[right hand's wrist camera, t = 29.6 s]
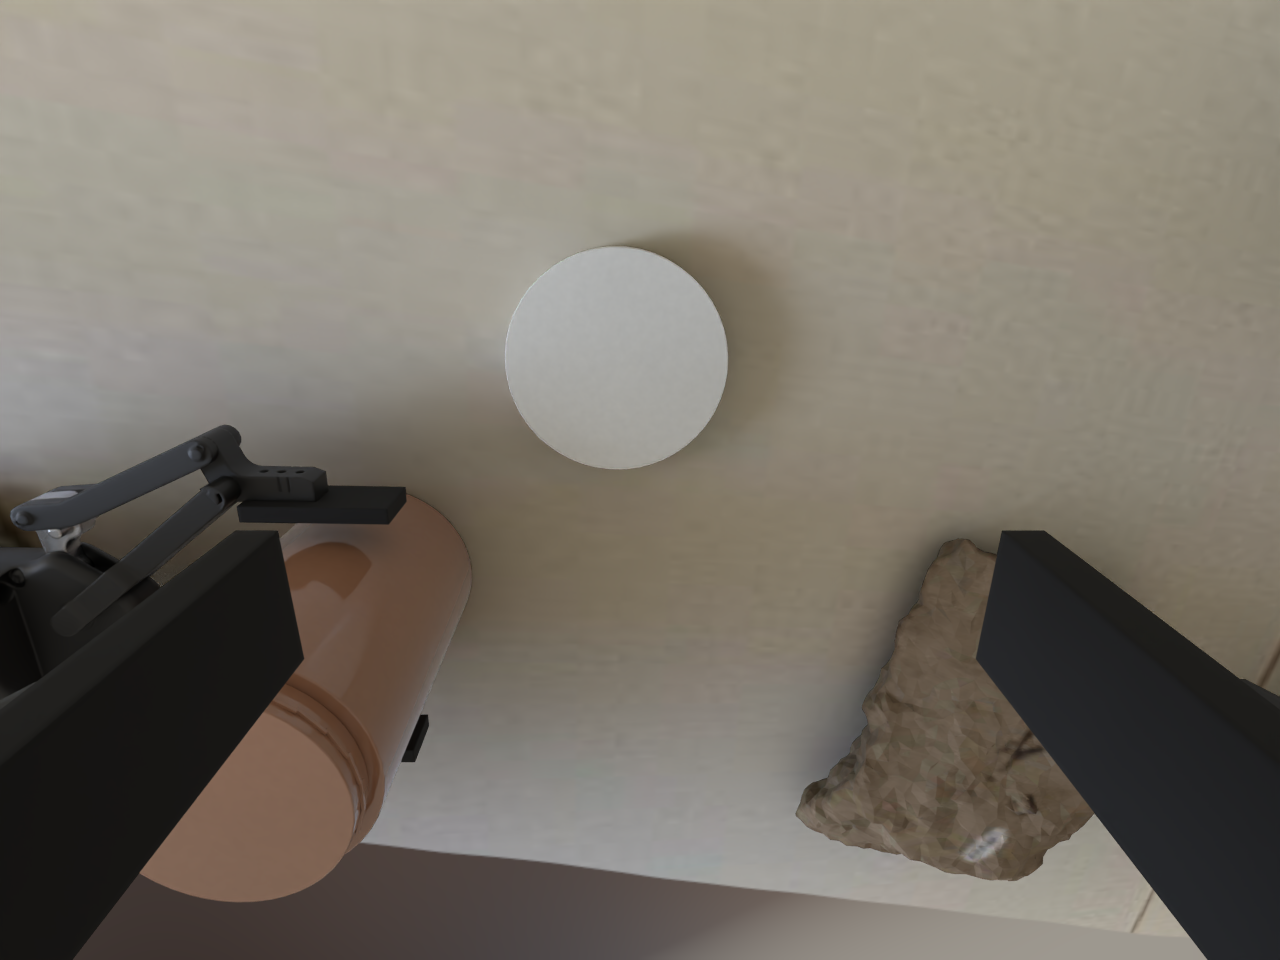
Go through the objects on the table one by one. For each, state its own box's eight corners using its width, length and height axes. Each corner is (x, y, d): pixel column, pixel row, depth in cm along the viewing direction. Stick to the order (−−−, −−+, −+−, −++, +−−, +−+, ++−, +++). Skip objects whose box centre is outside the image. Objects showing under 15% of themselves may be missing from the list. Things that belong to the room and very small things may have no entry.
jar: (491, 517, 38) (396, 725, 22) (450, 664, 42) (343, 937, 26) (305, 464, 37) (64, 646, 21) (279, 620, 40) (53, 880, 24)
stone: (999, 890, 45) (1041, 966, 39) (787, 797, 46) (796, 857, 40) (1154, 606, 41) (1224, 641, 35) (921, 513, 43) (951, 532, 37)
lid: (486, 422, 36) (479, 431, 35) (545, 212, 33) (541, 211, 31) (679, 484, 38) (682, 496, 36) (756, 290, 34) (763, 293, 33)
